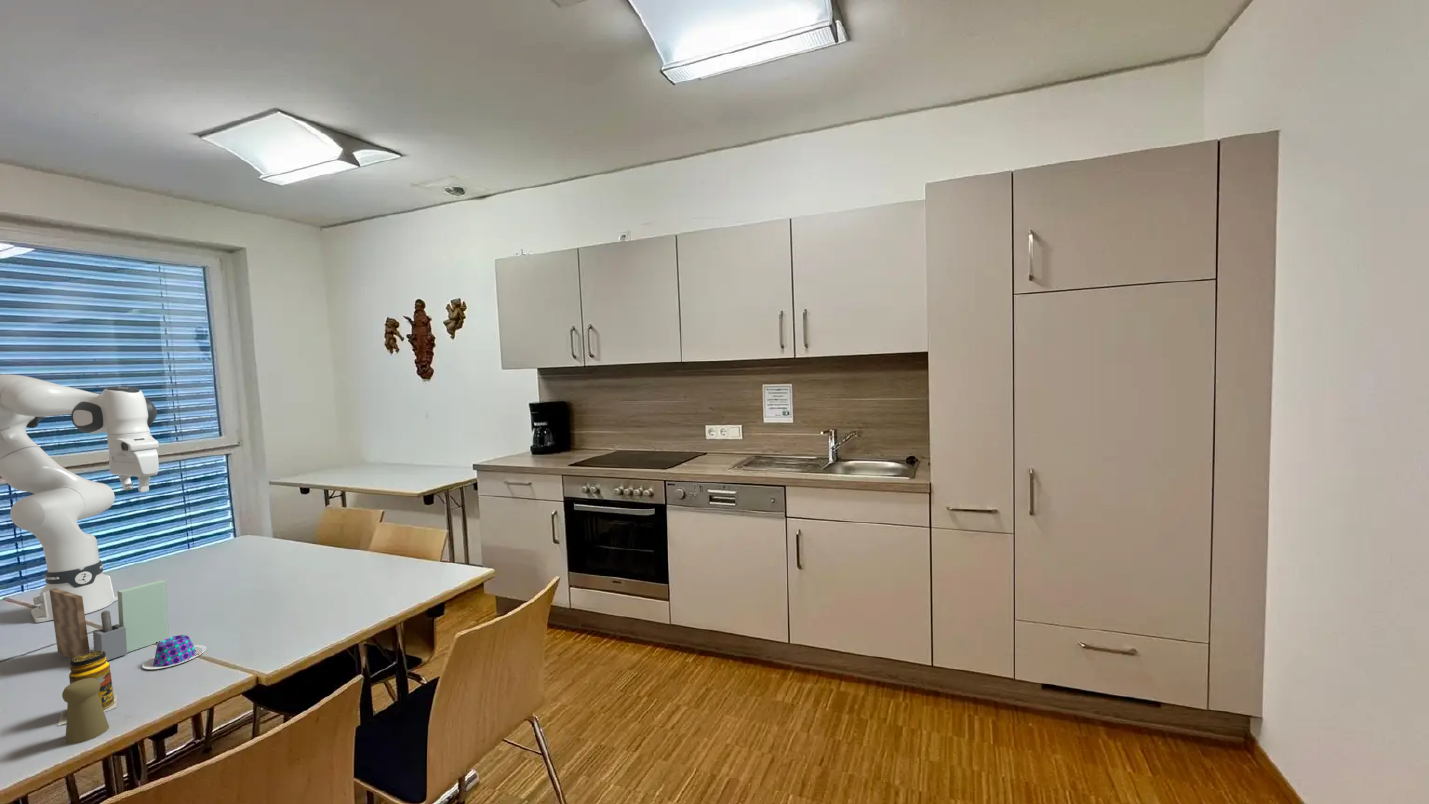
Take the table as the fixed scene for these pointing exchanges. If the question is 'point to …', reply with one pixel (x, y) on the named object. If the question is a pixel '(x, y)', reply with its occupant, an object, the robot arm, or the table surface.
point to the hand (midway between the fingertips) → (136, 490)
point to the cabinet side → (72, 623)
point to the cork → (84, 711)
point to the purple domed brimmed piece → (172, 652)
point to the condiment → (93, 668)
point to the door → (136, 620)
